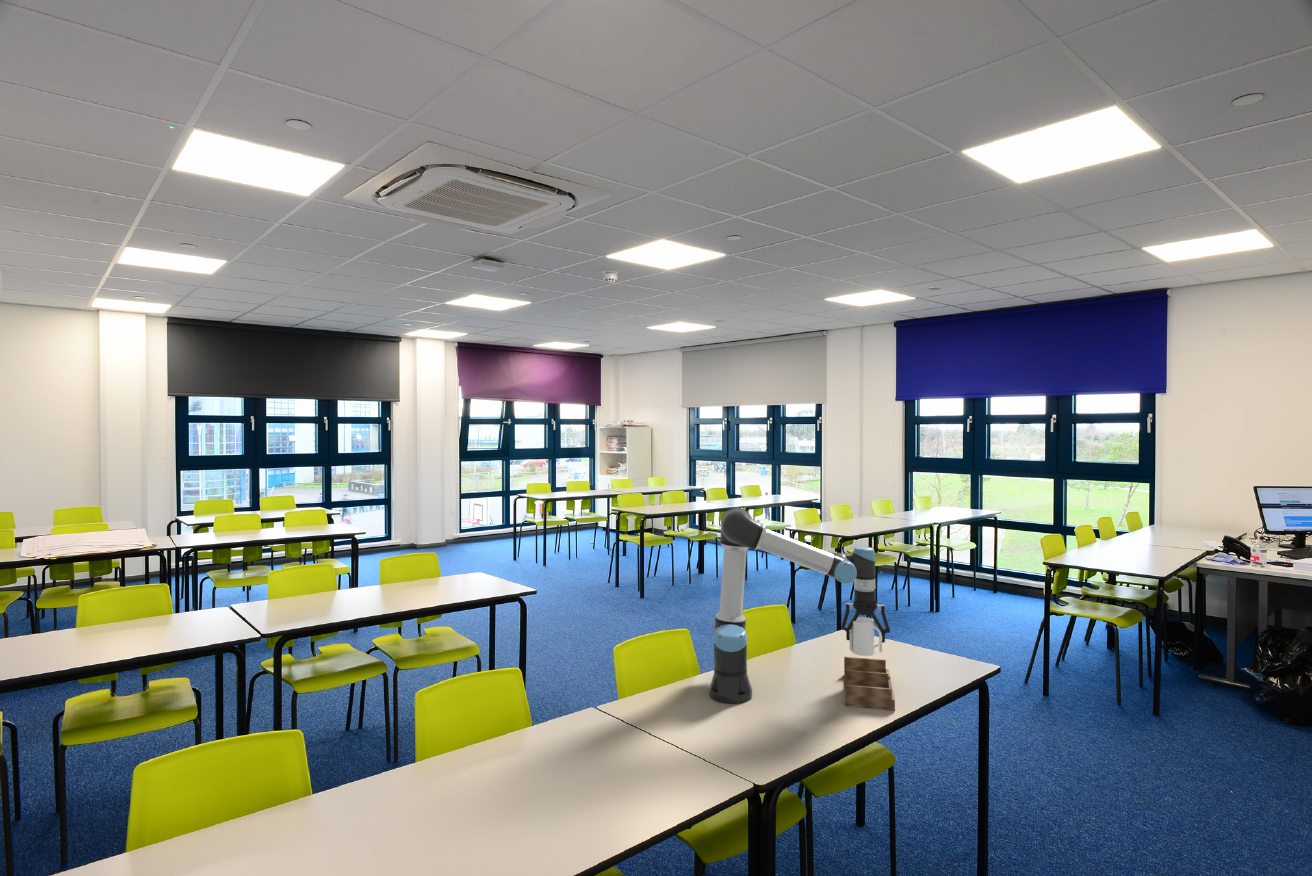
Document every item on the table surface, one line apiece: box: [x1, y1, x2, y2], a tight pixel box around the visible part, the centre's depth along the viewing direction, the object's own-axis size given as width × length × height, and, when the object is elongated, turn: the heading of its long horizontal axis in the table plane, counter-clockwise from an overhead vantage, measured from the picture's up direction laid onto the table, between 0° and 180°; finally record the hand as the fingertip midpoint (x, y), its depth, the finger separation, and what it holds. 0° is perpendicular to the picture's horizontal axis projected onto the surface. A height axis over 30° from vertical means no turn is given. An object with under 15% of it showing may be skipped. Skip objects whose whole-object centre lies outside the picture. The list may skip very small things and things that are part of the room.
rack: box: [843, 656, 896, 711], centre depth 238 cm, size 16×30×7 cm, turn 165°
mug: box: [850, 616, 882, 657], centre depth 245 cm, size 12×8×12 cm
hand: (865, 649), depth 245 cm, fingers closed on mug, 10 cm apart
